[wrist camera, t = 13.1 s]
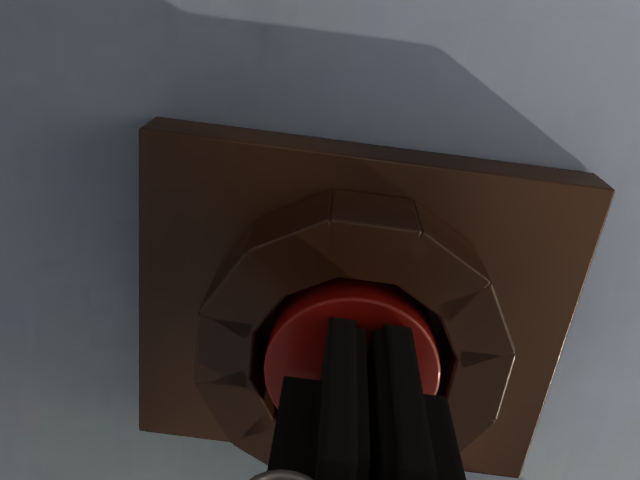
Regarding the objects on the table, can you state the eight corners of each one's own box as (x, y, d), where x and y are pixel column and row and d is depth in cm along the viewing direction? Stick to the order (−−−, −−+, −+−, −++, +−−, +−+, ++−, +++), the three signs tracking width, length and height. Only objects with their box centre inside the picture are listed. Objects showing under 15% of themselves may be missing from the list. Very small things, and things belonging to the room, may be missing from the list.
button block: (152, 401, 17) (113, 484, 14) (155, 115, 14) (105, 150, 11) (508, 446, 17) (540, 538, 14) (595, 173, 14) (657, 222, 11)
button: (266, 384, 15) (256, 434, 13) (280, 249, 13) (271, 287, 11) (414, 403, 15) (422, 456, 13) (444, 270, 13) (458, 311, 12)
